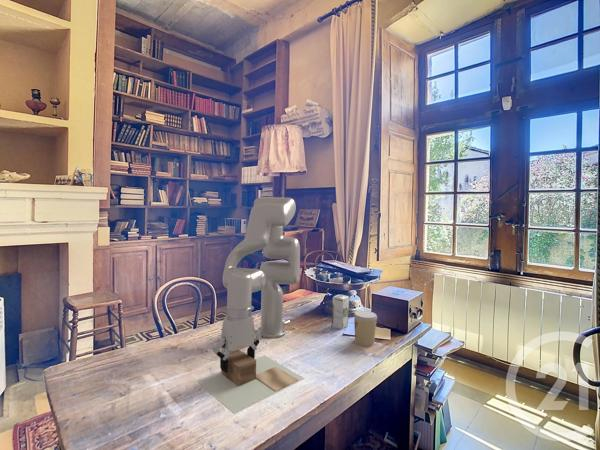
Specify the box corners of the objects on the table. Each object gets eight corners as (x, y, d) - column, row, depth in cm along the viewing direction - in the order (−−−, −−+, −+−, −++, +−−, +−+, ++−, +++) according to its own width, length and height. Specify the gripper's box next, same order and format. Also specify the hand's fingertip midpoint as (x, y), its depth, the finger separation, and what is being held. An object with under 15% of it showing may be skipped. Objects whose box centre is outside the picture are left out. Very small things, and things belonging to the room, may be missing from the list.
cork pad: (275, 367, 106) (275, 366, 106) (298, 380, 99) (298, 379, 99) (253, 376, 100) (253, 375, 100) (276, 391, 92) (276, 390, 92)
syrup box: (337, 323, 153) (338, 293, 152) (348, 326, 149) (349, 296, 148) (331, 326, 148) (332, 296, 147) (342, 329, 144) (343, 298, 144)
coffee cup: (356, 336, 138) (357, 309, 137) (378, 340, 134) (379, 312, 133) (350, 344, 129) (351, 315, 129) (373, 349, 125) (374, 319, 125)
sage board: (264, 358, 115) (264, 355, 115) (304, 382, 100) (305, 378, 100) (196, 384, 97) (196, 380, 97) (234, 418, 82) (234, 414, 82)
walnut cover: (221, 373, 102) (221, 355, 101) (238, 366, 106) (238, 349, 106) (238, 386, 95) (238, 367, 94) (255, 378, 99) (256, 360, 99)
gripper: (254, 304, 108) (253, 354, 108) (207, 314, 96) (206, 370, 96) (268, 309, 102) (266, 361, 103) (220, 321, 90) (219, 380, 91)
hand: (237, 366), depth 100 cm, fingers open, 9 cm apart
